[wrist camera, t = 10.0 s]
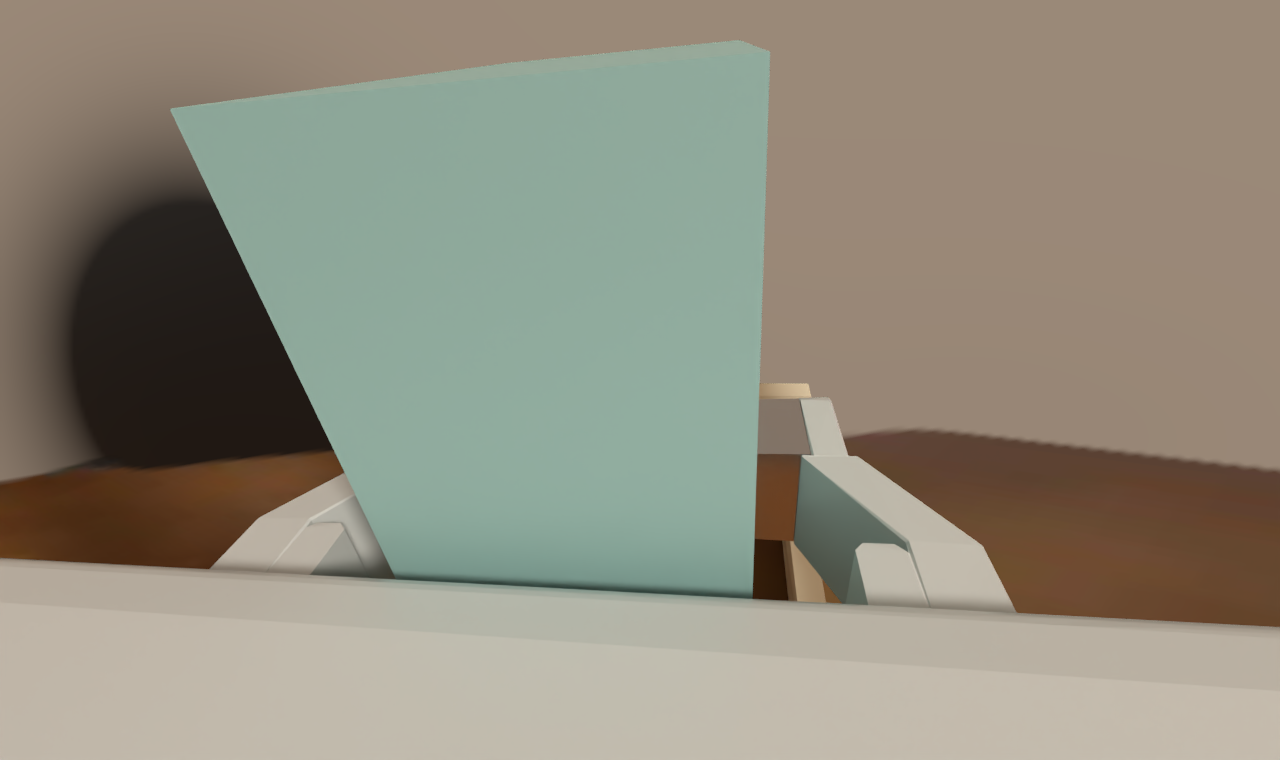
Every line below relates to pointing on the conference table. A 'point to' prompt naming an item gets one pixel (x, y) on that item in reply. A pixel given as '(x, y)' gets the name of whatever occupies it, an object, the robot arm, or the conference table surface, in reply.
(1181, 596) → the conference table surface
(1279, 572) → the conference table surface
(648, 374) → the teal board
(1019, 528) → the conference table surface
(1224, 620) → the conference table surface
